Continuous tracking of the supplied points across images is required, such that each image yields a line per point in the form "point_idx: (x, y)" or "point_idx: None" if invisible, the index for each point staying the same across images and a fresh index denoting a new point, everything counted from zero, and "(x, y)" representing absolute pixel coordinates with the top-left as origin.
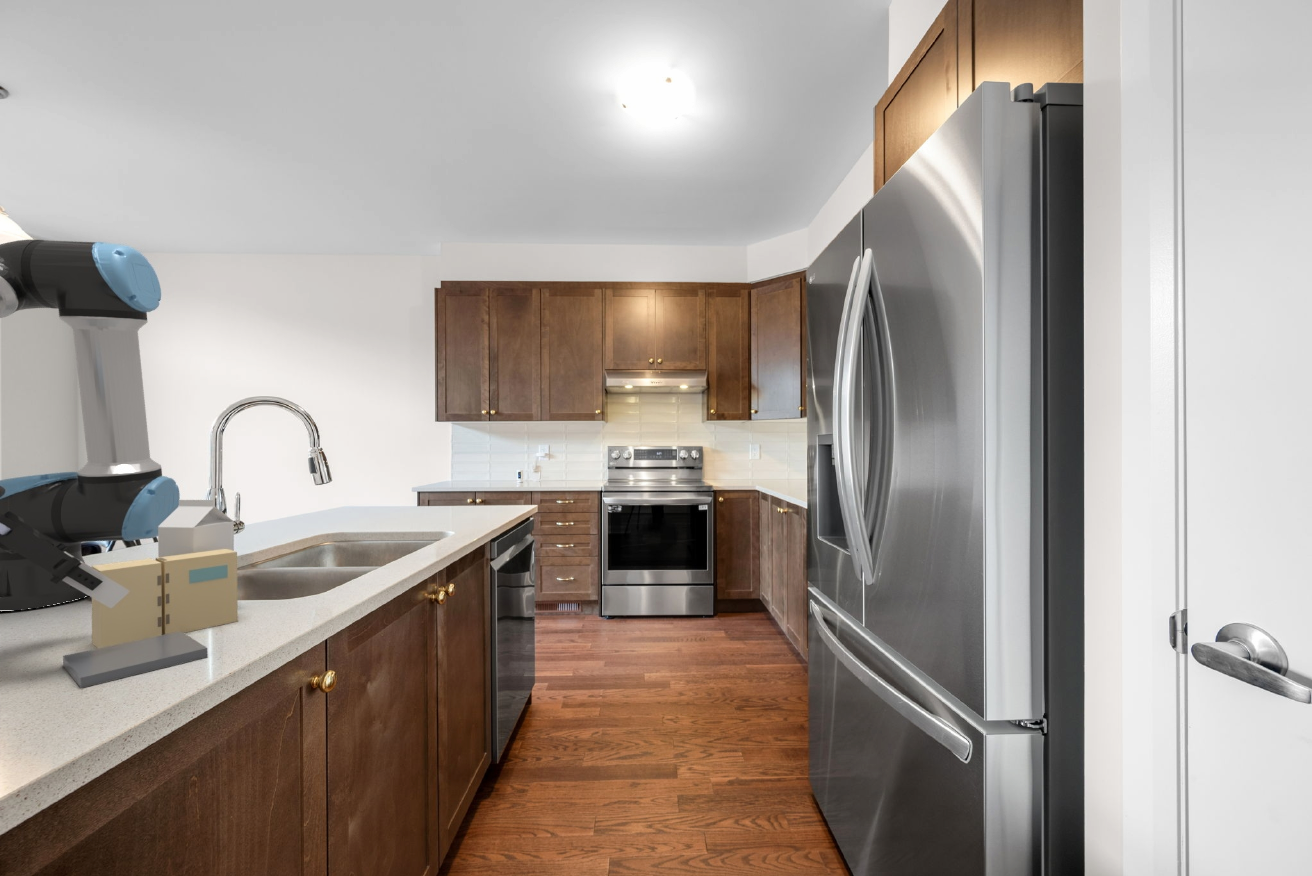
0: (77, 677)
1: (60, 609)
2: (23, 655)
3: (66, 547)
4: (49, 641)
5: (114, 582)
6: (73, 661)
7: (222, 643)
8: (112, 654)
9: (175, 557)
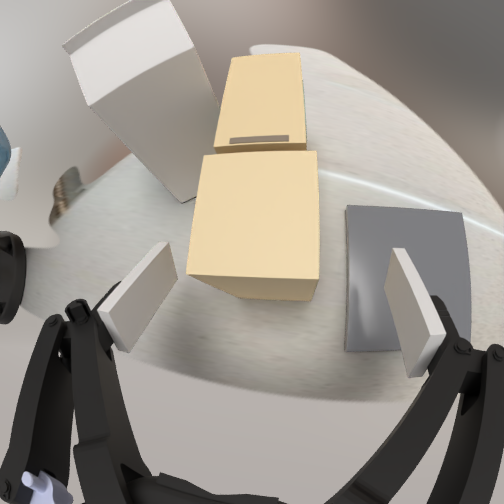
0: None
1: (37, 273)
2: (223, 372)
3: (87, 304)
4: (169, 331)
5: (416, 271)
6: (393, 344)
7: (410, 185)
8: None
9: (258, 118)
